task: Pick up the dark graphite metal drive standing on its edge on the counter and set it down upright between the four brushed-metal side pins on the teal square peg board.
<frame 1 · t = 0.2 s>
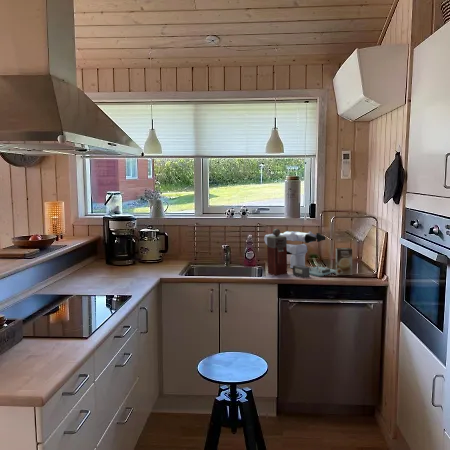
hand: (320, 238, 276), 21 cm above the table, tool horizontal, fingers open, 7 cm apart
drive: (301, 276, 272), on the table
coffee box: (343, 274, 271), on the table
teal square peg board: (318, 272, 280), on the table
toy vending machine: (278, 273, 281), on the table
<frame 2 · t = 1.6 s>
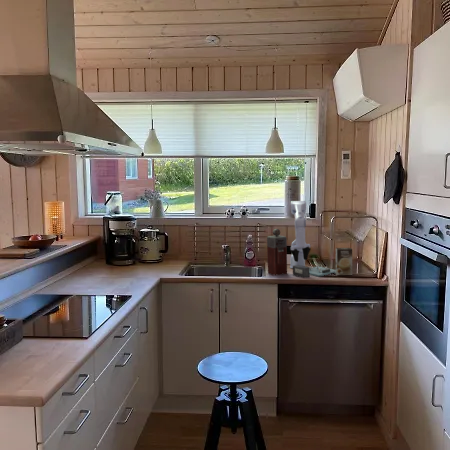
hand: (300, 260, 271), 9 cm above the table, tool pointing down, fingers open, 7 cm apart
nothing on the table moved.
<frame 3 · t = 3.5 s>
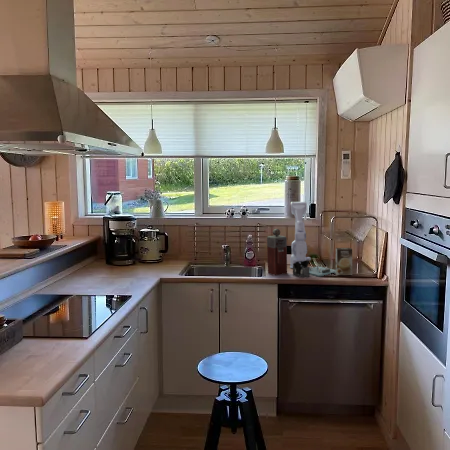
hand: (301, 273, 272), 1 cm above the table, tool pointing down, fingers closed on drive, 4 cm apart
drive: (301, 275, 272), on the table, touching gripper
everything else where it was.
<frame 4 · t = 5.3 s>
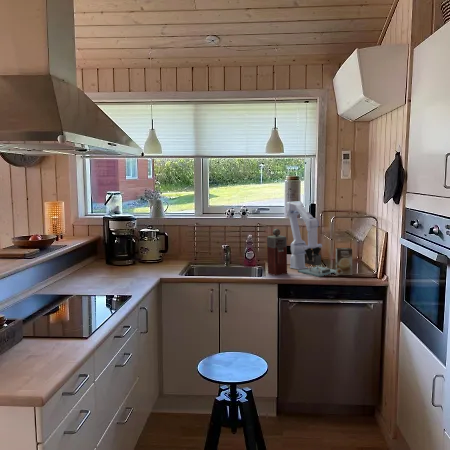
hand: (312, 260, 277), 8 cm above the table, tool pointing down, fingers closed on drive, 4 cm apart
drive: (312, 263, 277), point 6 cm above the table, touching gripper
everything else where it was.
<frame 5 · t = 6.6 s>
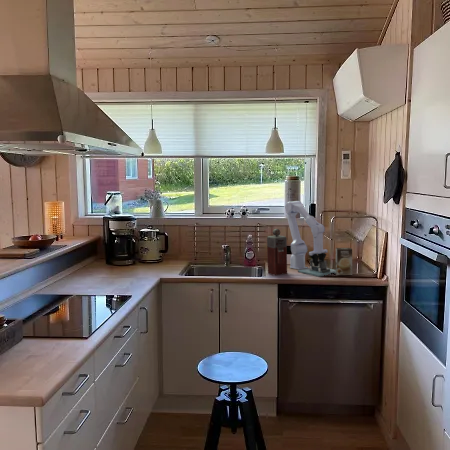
hand: (318, 265, 280), 4 cm above the table, tool pointing down, fingers closed on drive, 4 cm apart
drive: (318, 269, 280), point 1 cm above the table, touching gripper
everything else where it was.
when the fingers open (4 cm above the table, at t = 7.2 s): drive stays where it is, resting on teal square peg board.
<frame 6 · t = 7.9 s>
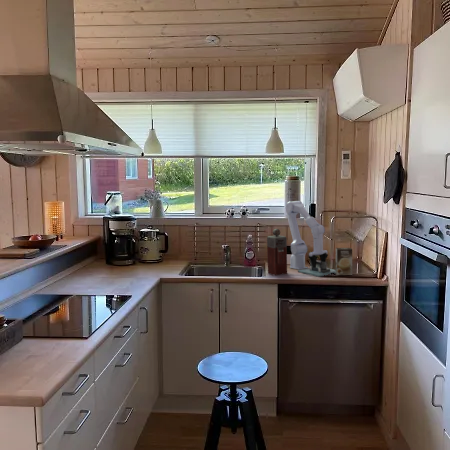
hand: (318, 266, 280), 4 cm above the table, tool pointing down, fingers open, 7 cm apart
drive: (318, 270, 280), point 1 cm above the table, touching teal square peg board
everything else where it was.
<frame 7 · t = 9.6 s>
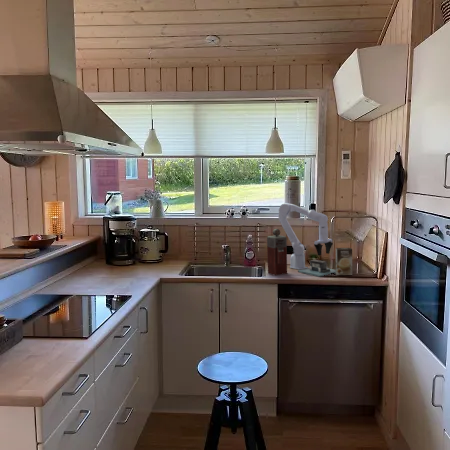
hand: (323, 254, 289), 9 cm above the table, tool pointing down, fingers open, 7 cm apart
nothing on the table moved.
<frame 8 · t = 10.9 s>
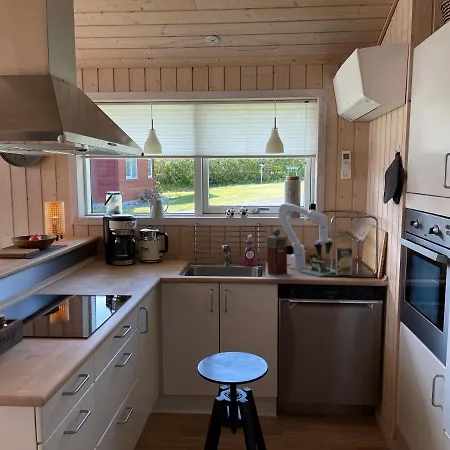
hand: (323, 254, 289), 9 cm above the table, tool pointing down, fingers open, 7 cm apart
nothing on the table moved.
at the end: drive 0.2 cm off-centre on the teal square peg board, point 1.0 cm above the teal square peg board's base; drive tilted 0°; the gripper is holding nothing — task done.
